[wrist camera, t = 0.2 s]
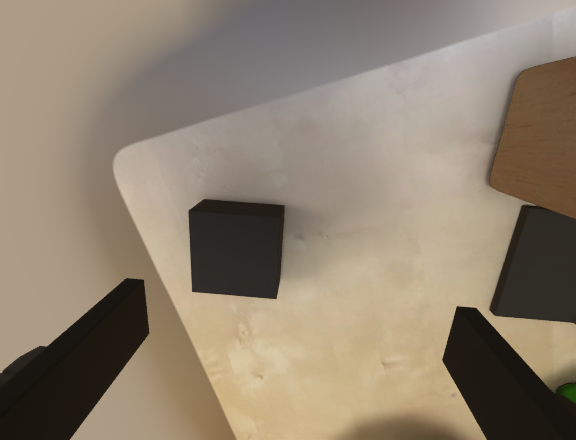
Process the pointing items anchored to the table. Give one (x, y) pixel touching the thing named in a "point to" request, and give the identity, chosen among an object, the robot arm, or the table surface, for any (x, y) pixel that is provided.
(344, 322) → the table surface
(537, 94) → the wooden block
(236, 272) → the foam pad
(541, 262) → the black tray
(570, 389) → the piggy bank
